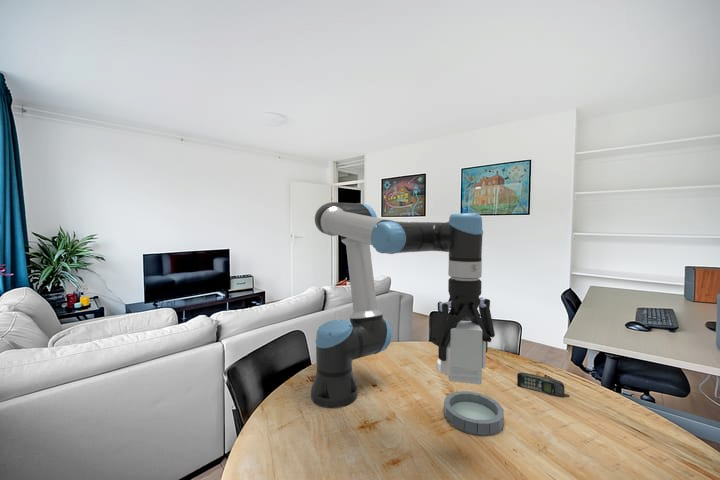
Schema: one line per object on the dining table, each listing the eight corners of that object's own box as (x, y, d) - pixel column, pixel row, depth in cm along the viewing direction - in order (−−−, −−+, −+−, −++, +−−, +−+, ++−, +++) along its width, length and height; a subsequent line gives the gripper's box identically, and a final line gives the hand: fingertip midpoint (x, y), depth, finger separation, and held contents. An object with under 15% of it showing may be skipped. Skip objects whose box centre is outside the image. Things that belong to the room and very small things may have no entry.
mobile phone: (516, 373, 106) (569, 384, 98) (517, 370, 108) (569, 380, 100) (517, 387, 106) (569, 400, 98) (518, 384, 108) (569, 395, 100)
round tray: (433, 407, 93) (433, 397, 93) (475, 397, 99) (475, 387, 99) (470, 441, 79) (470, 429, 78) (516, 427, 84) (517, 415, 84)
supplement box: (482, 385, 70) (483, 330, 70) (448, 381, 72) (449, 328, 71) (476, 370, 77) (477, 321, 77) (446, 367, 79) (446, 319, 78)
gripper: (434, 283, 66) (433, 385, 67) (512, 277, 74) (510, 368, 75) (416, 278, 73) (415, 370, 74) (489, 273, 81) (487, 356, 82)
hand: (463, 369), depth 75 cm, fingers closed on supplement box, 10 cm apart
